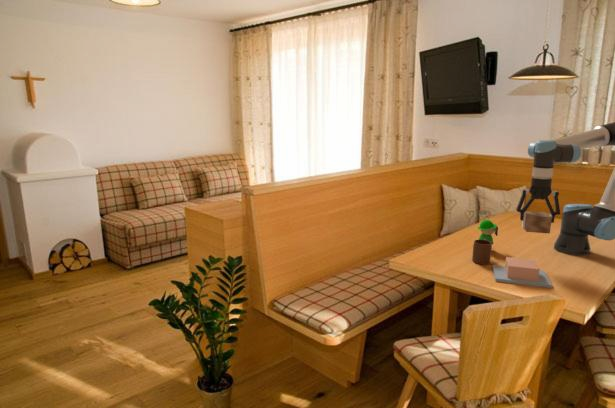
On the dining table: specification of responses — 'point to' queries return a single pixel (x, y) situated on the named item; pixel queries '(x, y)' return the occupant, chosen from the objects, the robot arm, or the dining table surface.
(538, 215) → the walnut block
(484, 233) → the toy
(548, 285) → the plate
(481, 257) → the mug
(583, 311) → the dining table surface
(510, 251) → the dining table surface
